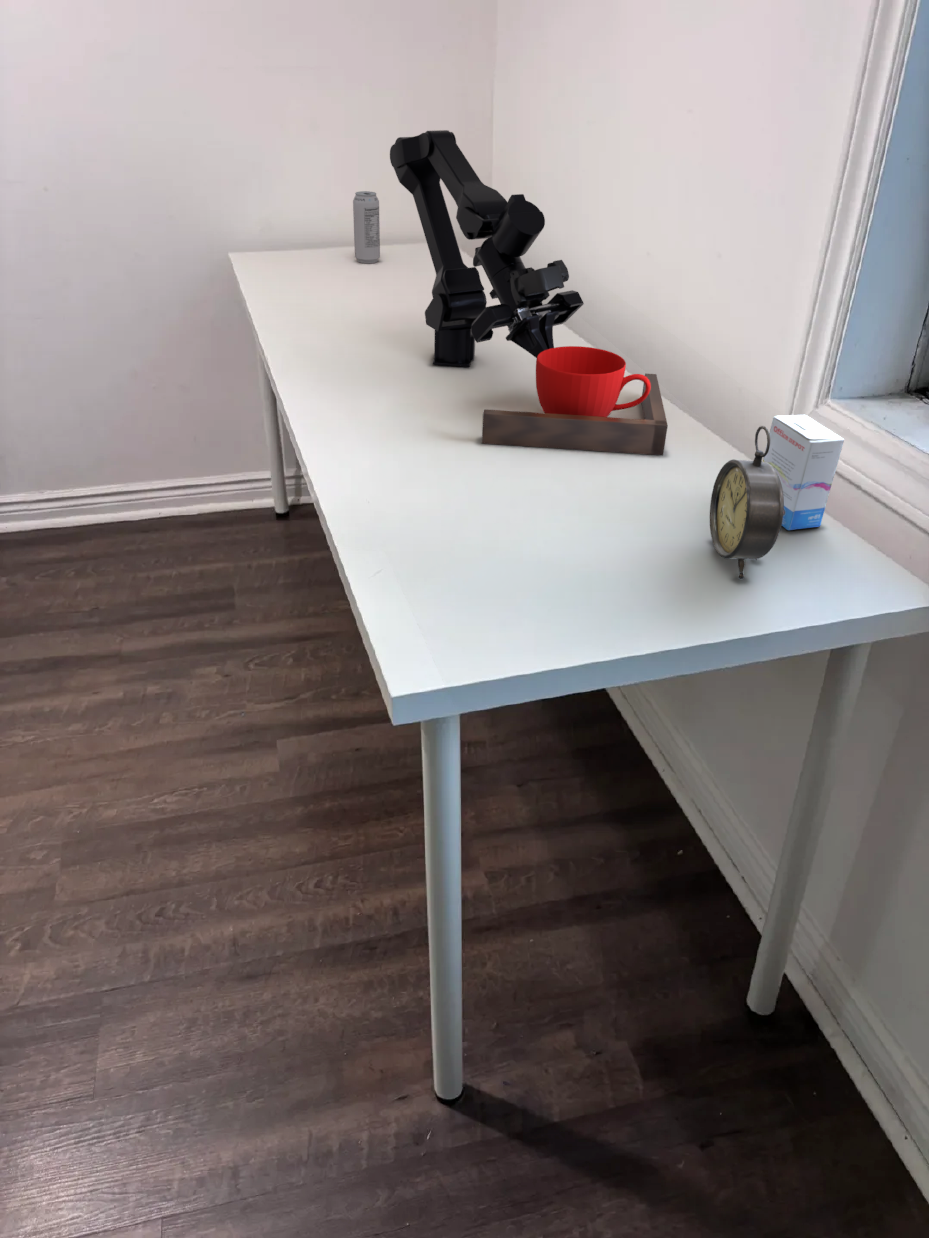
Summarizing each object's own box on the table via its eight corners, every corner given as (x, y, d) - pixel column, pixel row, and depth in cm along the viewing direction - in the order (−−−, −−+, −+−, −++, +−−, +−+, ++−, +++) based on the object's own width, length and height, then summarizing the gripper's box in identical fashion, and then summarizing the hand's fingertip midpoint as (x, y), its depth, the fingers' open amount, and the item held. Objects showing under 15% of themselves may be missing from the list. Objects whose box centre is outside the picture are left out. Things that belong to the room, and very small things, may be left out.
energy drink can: (369, 257, 230) (368, 190, 221) (385, 261, 226) (384, 194, 218) (349, 260, 226) (347, 192, 218) (365, 265, 223) (363, 196, 214)
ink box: (823, 527, 117) (847, 437, 110) (787, 532, 116) (810, 441, 109) (784, 497, 124) (805, 411, 117) (751, 501, 122) (770, 414, 116)
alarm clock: (700, 538, 114) (725, 408, 105) (744, 537, 114) (772, 408, 105) (729, 585, 105) (759, 448, 96) (776, 584, 105) (810, 447, 96)
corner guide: (481, 443, 136) (483, 413, 133) (492, 391, 154) (493, 364, 151) (663, 455, 134) (667, 425, 132) (652, 401, 152) (656, 374, 150)
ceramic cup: (637, 451, 135) (647, 383, 130) (522, 434, 139) (527, 368, 133) (649, 419, 146) (658, 355, 140) (541, 405, 149) (546, 341, 144)
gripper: (486, 249, 132) (534, 347, 131) (580, 235, 143) (626, 326, 141) (450, 294, 142) (495, 387, 141) (541, 278, 152) (583, 364, 151)
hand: (552, 365), depth 143 cm, fingers closed
